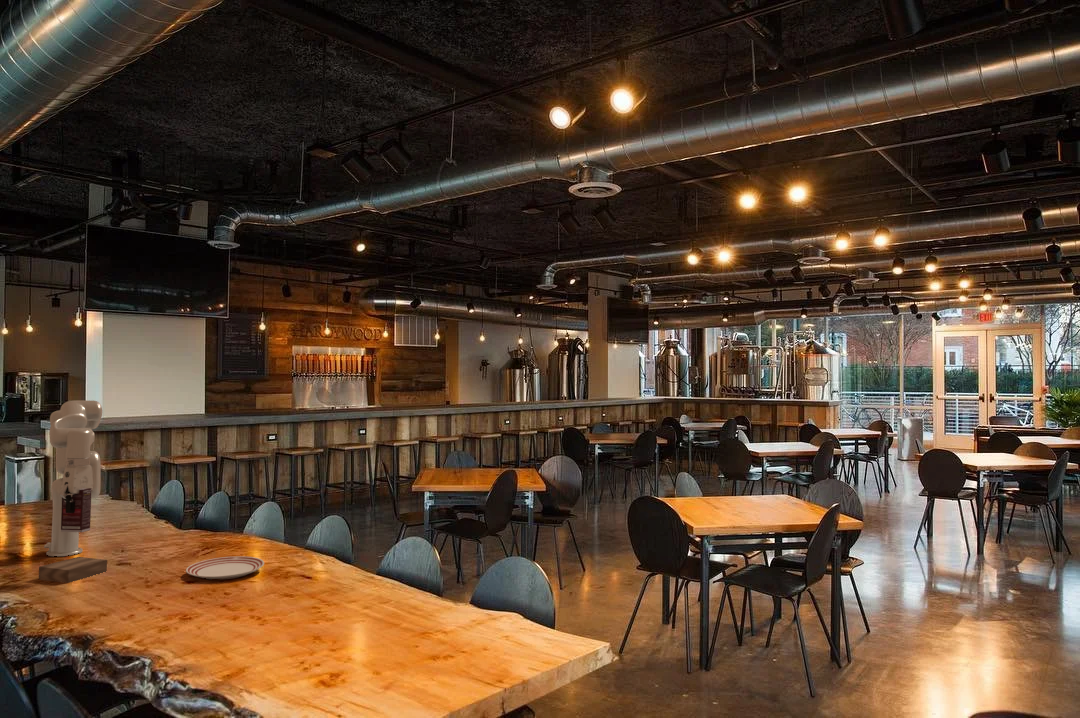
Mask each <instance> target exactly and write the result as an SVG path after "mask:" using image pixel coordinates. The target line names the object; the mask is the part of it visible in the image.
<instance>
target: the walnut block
mask: <svg viewBox="0 0 1080 718" xmlns="http://www.w3.org/2000/svg"><path fill="white" fill-rule="evenodd" d="M106 571H107V572H108V559H104V558H103V559H102V558H95V557H94V558H93V557H85V556H84V557H83V556H76V557H73V558H69V559H65V560H61V561H56V562H52V563H48V564H44V565H41V566H38V580H39V579H40V580H39V581H48V582H58V583H64V582H65V584H69V583H72V582H73V581H74V582H76V581H80V579H81V580H84V579H88V578H91V577H94V576H93V575H95V576H97V575H96V574H98V575H101V574H100V573H102V574H104V573H103V572H105V573H107V572H106ZM90 576H91V577H90ZM87 577H88V578H87ZM83 578H84V579H83Z"/></svg>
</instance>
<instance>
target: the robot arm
mask: <svg viewBox="0 0 1080 718" xmlns="http://www.w3.org/2000/svg"><path fill="white" fill-rule="evenodd" d="M102 417H103V406H102V405H101V403H100V402H99V401H98V400H84V399H83V400H76V399H75V400H68V401H65V402H64V403H63V404H62V405H61V407H60V409H59V410H56V411H53V412H52V413H50V416H49V423H50V424H49V425H50V428H49V432H48V433H49V434H48V435H49V443H50V445H51V446H52V447H53V448H55V450H56V451H55V452H56V453H55V468H56V472H57V473H58V474H61V475H63V477H60V478H57V479H55V480H54V481H52V483H51V485H50V486H51V487H50V491H51V499H52V521H51V542H48V541H47V543H46V544H44V546H43V547H44V548H45V549H48V551H46V556H47V555H48V556H47V557H54V556H57V557H66V556H67V557H69V556H73V555H74V554H75V555H78V553H79V554H81V553H82V552H83V548H82V547H79V544H80V543H79V541H80V540H79V537H80V532H61V513H62V498H63V499H64V500H65V502H66V513H74V512H75V502H73V501H74V497H75V494H79V490H80V489H85V488H92V489H91V500H92V499H96V498H97V497H99V496H100V495H101V494H100V493H101V483H102V482H101V481H102V480H101V475H102V474H101V464H102V462H101V456H100V453H98V452H97V451H95V450H91V446H92V445H93V443H94V442H95V439H96V436H95V432H94V431H93V430H95V429H97V428H98V427H99V425H100V423H101V419H102ZM70 495H71V498H70V497H69V496H70ZM68 555H69V556H68Z"/></svg>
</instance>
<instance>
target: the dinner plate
mask: <svg viewBox="0 0 1080 718" xmlns="http://www.w3.org/2000/svg"><path fill="white" fill-rule="evenodd" d="M264 565H265V561H264V560H263V559H261V558H259V557H253V556H243V555H242V556H223V557H214V558H210V559H205V560H202V561H197V562H195V563H193V564H190V565H189V566H188V567H187V568H186V569H185V573H187V574H188V575H190V576H194V577H197V578H200V579H201V578H202V579H204V578H206V579H205V580H212V579H220V580H230V579H236V578H242V577H245V576H247V575H249V574H252V573H254V572H257V571H258V570H260V569H261V568H262V567H264Z"/></svg>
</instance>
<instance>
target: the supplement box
mask: <svg viewBox="0 0 1080 718" xmlns="http://www.w3.org/2000/svg"><path fill="white" fill-rule="evenodd" d="M91 489H92V488H85V489H80V490H79V494H75V497H74V501H73V502H75V512H74V513H66V502H65V500H64V499H63V498H62V513H61V532H79V533H84V532H89V531H91V518H92V517H91V516H92V515H91V513H92V512H91V509H92V499H91ZM69 497H70V498H71V495H70V496H69Z"/></svg>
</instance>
